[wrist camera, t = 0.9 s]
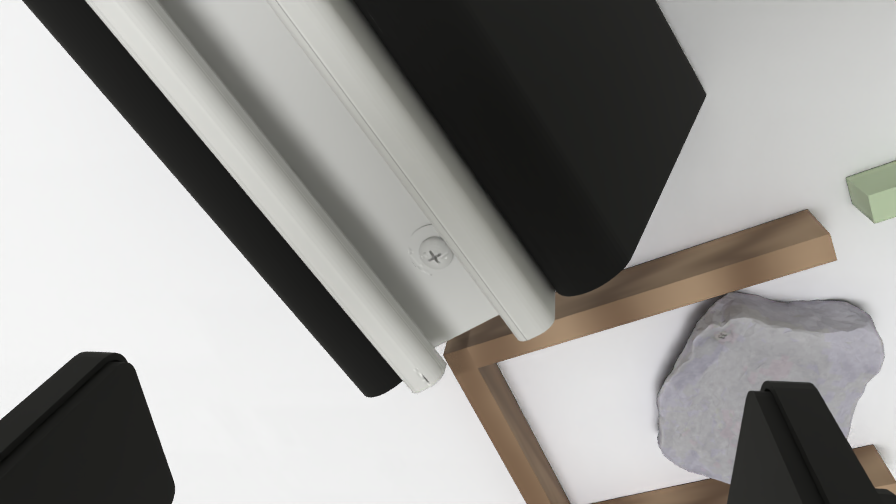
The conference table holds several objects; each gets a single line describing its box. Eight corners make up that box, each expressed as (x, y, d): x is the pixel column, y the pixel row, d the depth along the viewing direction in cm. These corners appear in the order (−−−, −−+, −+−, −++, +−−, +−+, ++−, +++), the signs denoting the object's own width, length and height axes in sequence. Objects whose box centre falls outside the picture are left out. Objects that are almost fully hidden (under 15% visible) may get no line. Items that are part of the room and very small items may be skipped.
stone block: (646, 421, 42) (812, 466, 39) (640, 469, 38) (824, 524, 35) (686, 261, 37) (879, 299, 34) (684, 297, 33) (903, 344, 30)
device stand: (357, 291, 39) (252, 472, 26) (91, -34, 32) (-231, -17, 19) (701, 89, 30) (812, 203, 17) (434, -402, 24) (283, -821, 11)
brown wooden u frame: (807, 209, 32) (830, 233, 29) (878, 462, 38) (902, 501, 35) (451, 326, 38) (443, 355, 36) (560, 526, 45) (560, 563, 42)
